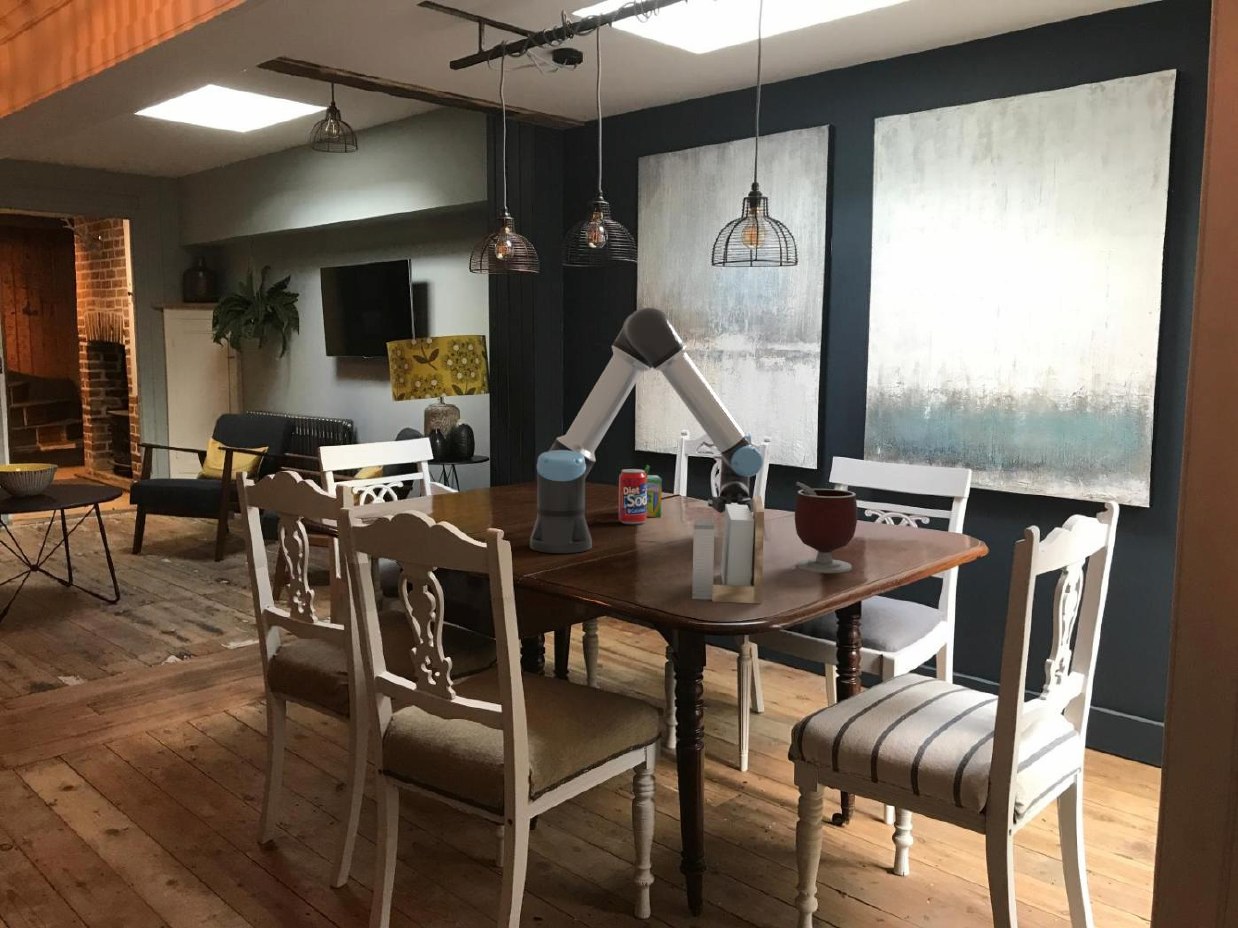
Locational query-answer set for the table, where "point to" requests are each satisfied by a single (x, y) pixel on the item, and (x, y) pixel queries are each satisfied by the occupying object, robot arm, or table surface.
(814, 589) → the table surface
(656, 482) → the juice box
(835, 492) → the mate gourd
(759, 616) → the table surface
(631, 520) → the soda can
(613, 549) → the table surface
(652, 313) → the robot arm
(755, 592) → the oak shelf corner
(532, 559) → the table surface
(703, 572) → the grey carton
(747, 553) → the skincare box
